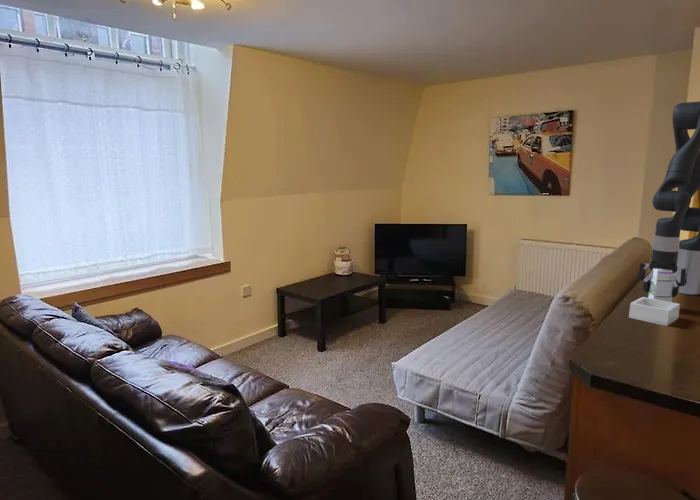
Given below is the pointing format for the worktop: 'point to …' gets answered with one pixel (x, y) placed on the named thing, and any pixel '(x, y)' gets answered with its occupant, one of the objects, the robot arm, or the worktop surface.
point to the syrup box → (661, 285)
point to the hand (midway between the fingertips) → (659, 294)
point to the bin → (654, 311)
